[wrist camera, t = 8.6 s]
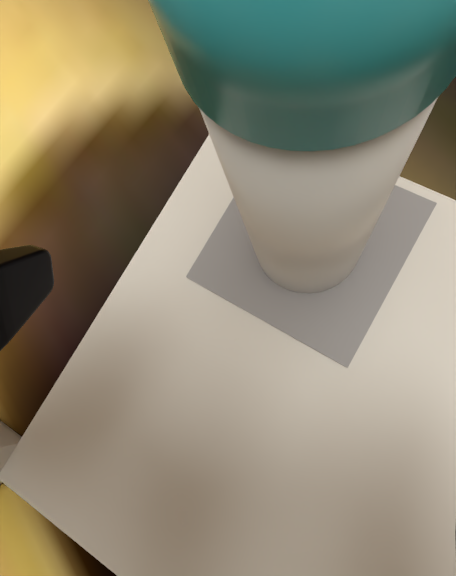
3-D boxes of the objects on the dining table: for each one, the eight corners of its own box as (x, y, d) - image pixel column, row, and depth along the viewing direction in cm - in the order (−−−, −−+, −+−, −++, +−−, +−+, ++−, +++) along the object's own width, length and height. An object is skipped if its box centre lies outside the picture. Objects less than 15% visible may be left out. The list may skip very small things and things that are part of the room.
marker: (305, 319, 15) (316, 82, 3) (231, 241, 17) (9, -173, 4) (388, 243, 15) (756, -318, 3) (309, 170, 17) (330, -460, 4)
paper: (376, 770, 13) (380, 795, 12) (7, 473, 17) (-7, 479, 16) (613, 277, 15) (631, 271, 14) (230, 111, 19) (227, 100, 18)
